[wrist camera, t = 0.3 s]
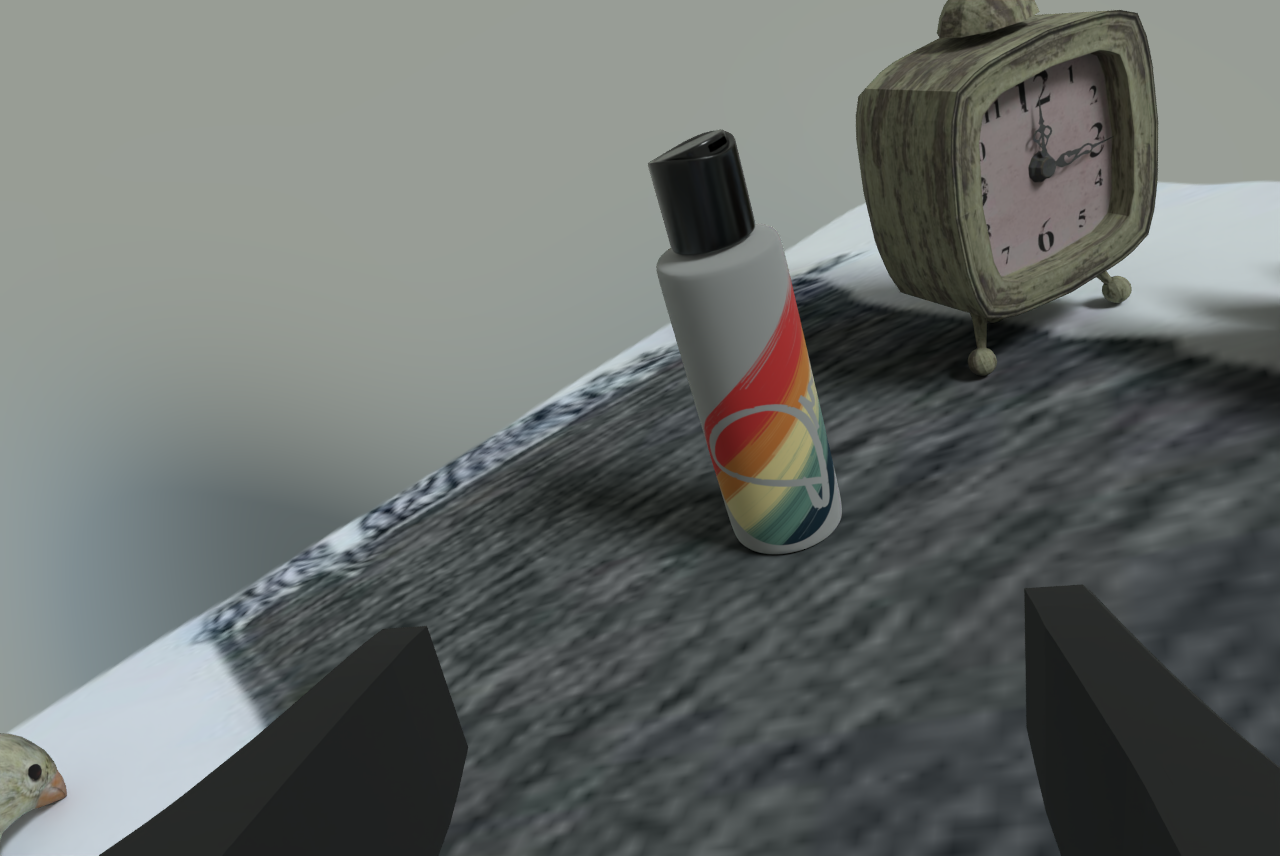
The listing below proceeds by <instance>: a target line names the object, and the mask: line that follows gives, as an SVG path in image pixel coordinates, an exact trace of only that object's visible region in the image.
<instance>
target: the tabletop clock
mask: <svg viewBox="0 0 1280 856" xmlns="http://www.w3.org/2000/svg"><path fill="white" fill-rule="evenodd" d="M1038 12H1039V10H1038V7H1037V5H1036V3H1035V1H1034V0H948V1H947V2H946V4H945V5H944V7H943V10H942V12H941V15H940V18H939V24H938V30H937V34H938V36H939V39H937V40H935V41H933V42H931V43H929V44H927V45H926V46H924V47H922V48H920V49H917V50H916V51H914V52H912V53H910V54H908V55H906V56H904V57H902V58H900V59H899V60H897V61H895V62H894V63H892V64H891V65H889V66H888V67H887V68H885V69H884V70H883V71H882V72H880V74H879V75H878V76H877V77H876V78H875V79H874V80H873V81H872V82H871V83H870V84H869V85H868V86H867V88H865V90H864V91H863V92H862V93H861V94H860V95H859V97H858V104H857V112H856V137H857V138H856V140H857V148H858V155H859V162H860V169H861V177H862V184H863V191H864V196H865V200H866V205H867V209H868V213H869V217H870V222H871V226H872V230H873V234H874V239H875V242H876V245H877V248H878V250H879V253H880V255H881V258H882V260H883V262H884V265H885V267H886V269H887V271H888V273H889V275H890V277H891V278H892V280H893V281H894V283H895V284H896V286H897V287H898V289H899V290H900V292H902V293H905V294H908V295H912V296H915V297H918V298H922V299H925V300H928V301H932V302H935V303H938V304H941V305H945V306H948V307H951V308H955V309H958V310H961V311H965V312H968V313H970V314H971V317H972V321H973V327H974V332H975V338H976V344H977V349H975V350H973V351H972V352H971V353H970V355H969V357H968V365H969V368H970V369H971V371H972V372H973V373H975V374H977V375H981V376H984V375H988V374H990V373H991V372H993V370H994V369H995V367H996V365H997V360H996V356H995V354H994V353H993V352H992V351H991V350H990V349H988V348H986V339H987V322H989V323H995V322H998V321H1000V320H1002V319H1003V318H1007V317H1012V316H1016V315H1019V314H1022V313H1024V312H1027V311H1030V310H1032V309H1034V308H1036V307H1039V306H1041V305H1043V304H1046V303H1048V302H1050V301H1053V300H1055V299H1057V298H1059V297H1062V296H1064V295H1066V294H1069V293H1071V292H1073V291H1074V290H1076V289H1078V288H1079V287H1081V286H1082V285H1084V284H1086V283H1087V282H1089V281H1090V280H1092V279H1094V278H1095V277H1097V278H1098V279H1100V280H1101V281H1102V282H1103V283H1104V284H1103V286H1102V293H1103V295H1104V297H1105V298H1106V299H1107V300H1108V301H1110V302H1113V303H1119V302H1122V301H1124V300H1126V299H1127V298H1128V297H1129V296H1130V294H1131V289H1132V288H1131V284H1130V283H1129V281H1128V280H1127V279H1125V278H1123V277H1121V276H1114V277H1110V275H1109V274H1108V273H1107V270H1108V269H1110V268H1111V267H1113V266H1114V265H1116V264H1117V263H1119V262H1120V261H1122V260H1123V259H1124V258H1126V257H1127V256H1128V255H1129V254H1130V253H1131V252H1133V251H1134V250H1135V249H1136V247H1137V246H1138V245H1139V244H1140V243H1141V242H1142V241H1143V240H1144V239H1145V237H1146V236H1147V235H1148V233H1149V229H1150V225H1151V221H1152V217H1153V213H1154V208H1155V199H1156V189H1157V172H1158V168H1157V167H1158V116H1157V107H1156V106H1157V105H1156V96H1155V85H1154V76H1153V66H1152V60H1151V55H1150V50H1149V45H1148V40H1147V36H1146V33H1145V31H1144V29H1143V26H1142V23H1141V21H1140V18H1139V16H1138V13H1133V12H1127V11H1122V10H1114V11H1097V12H1080V13H1062V14H1045V15H1035V14H1036V13H1038Z"/></svg>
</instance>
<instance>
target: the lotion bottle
mask: <svg viewBox="0 0 1280 856" xmlns="http://www.w3.org/2000/svg"><path fill="white" fill-rule="evenodd" d="M648 167H649V171H650V174H651V178H652V181H653V185H654V189H655V192H656V196H657V199H658V203H659V206H660V210H661V213H662V217H663V220H664V224H665V227H666V231H667V234H668V238H669V242H670V245H671V248H670V249H668V250H667V251H666V252H665V253H664V254H663V255H662V256H661V257H660V258H659V260H658V263H657V266H656V268H657V274H658V278H659V282H660V286H661V289H662V293H663V296H664V300H665V303H666V307H667V310H668V313H669V317H670V320H671V324H672V327H673V331H674V334H675V337H676V341H677V344H678V347H679V351H680V354H681V358H682V361H683V364H684V368H685V371H686V374H687V378H688V381H689V385H690V388H691V391H692V395H693V398H694V402H695V405H696V408H697V412H698V415H699V418H700V422H701V425H702V429H703V432H704V435H705V439H706V442H707V446H708V449H709V452H710V456H711V459H712V462H713V466H714V469H715V473H716V476H717V479H718V483H719V486H720V489H721V493H722V496H723V500H724V503H725V506H726V509H727V513H728V516H729V519H730V522H731V525H732V528H733V530H734V533H735V535H736V537H737V538H738V540H739V541H740V542H741V543H742V544H743V545H744V546H746V547H747V548H749V549H751V550H753V551H756V552H760V553H765V554H786V553H792V552H797V551H800V550H803V549H806V548H809V547H811V546H813V545H815V544H817V543H819V542H821V541H822V540H824V539H825V538H827V537H828V536H829V535H830V534H831V533H832V532H833V531H834V530H835V528H836V527H837V525H838V524H839V522H840V519H841V515H842V506H841V499H840V493H839V488H838V484H837V479H836V475H835V470H834V466H833V461H832V457H831V453H830V448H829V444H828V440H827V435H826V431H825V426H824V422H823V418H822V413H821V409H820V405H819V400H818V396H817V392H816V387H815V383H814V378H813V374H812V370H811V365H810V361H809V357H808V352H807V348H806V344H805V339H804V335H803V330H802V326H801V322H800V317H799V313H798V309H797V304H796V300H795V296H794V291H793V287H792V283H791V278H790V274H789V270H788V265H787V261H786V257H785V253H784V249H783V245H782V241H781V238H780V235H779V233H778V231H777V230H775V229H774V228H773V227H771V226H769V225H765V224H755V220H754V216H753V212H752V207H751V203H750V199H749V195H748V191H747V187H746V183H745V178H744V175H743V170H742V166H741V162H740V158H739V153H738V149H737V145H736V141H735V139H734V136H733V135H732V134H731V133H729V132H726V131H724V130H717V131H710V132H706V133H703V134H700V135H697V136H695V137H693V138H691V139H689V140H687V141H685V142H683V143H681V144H679V145H678V146H676V147H674V148H672V149H671V150H669V151H667V152H666V153H664V154H662V155H661V156H659V157H657V158H656V159H654V160H652V161H650V162H649V163H648Z"/></svg>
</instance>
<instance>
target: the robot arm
mask: <svg viewBox="0 0 1280 856" xmlns="http://www.w3.org/2000/svg"><path fill="white" fill-rule="evenodd" d="M1024 593H1025V656H1026V720H1027V731H1028V736H1029V740H1030V745H1031V749H1032V754H1033V758H1034V763H1035V767H1036V771H1037V776H1038V780H1039V784H1040V788H1041V793H1042V797H1043V801H1044V805H1045V810H1046V813H1047V816H1048V819H1049V822H1050V825H1051V828H1052V830H1053V833H1054V836H1055V839H1056V842H1057V845H1058V848H1059V850H1060V853H1061V856H1280V767H1279V766H1277V765H1276V764H1275V763H1274V762H1272V761H1271V760H1270V759H1269V758H1268V757H1266V756H1265V755H1264V754H1263V753H1261V752H1260V751H1259V750H1258V749H1257V748H1255V747H1254V746H1253V745H1252V744H1250V743H1249V742H1248V741H1247V740H1246V739H1245V738H1243V737H1242V736H1241V735H1240V734H1239V733H1238V732H1236V731H1235V730H1234V729H1233V728H1232V727H1231V726H1230V725H1228V724H1227V723H1226V722H1225V721H1224V720H1223V719H1221V718H1220V717H1219V716H1218V715H1217V714H1216V713H1215V712H1214V711H1213V710H1212V709H1210V708H1209V707H1208V706H1207V705H1206V704H1205V703H1204V702H1203V701H1202V700H1201V699H1199V698H1198V697H1197V696H1196V695H1195V694H1194V693H1193V692H1192V691H1191V690H1190V689H1188V688H1187V687H1186V686H1185V685H1184V684H1183V683H1182V682H1181V681H1180V680H1179V679H1178V678H1177V677H1175V676H1174V675H1173V674H1172V673H1171V672H1170V671H1169V670H1168V669H1167V668H1166V667H1165V666H1164V665H1163V664H1162V663H1161V662H1160V661H1159V660H1158V659H1157V658H1156V657H1155V656H1154V655H1153V654H1152V653H1151V652H1150V651H1149V650H1148V649H1147V648H1146V647H1145V646H1144V645H1143V644H1142V643H1141V642H1140V641H1139V640H1138V639H1137V638H1136V637H1135V636H1134V635H1133V634H1132V633H1131V632H1130V631H1129V630H1128V629H1127V628H1126V627H1125V626H1124V625H1123V624H1122V623H1121V622H1120V621H1119V620H1118V619H1117V618H1116V617H1115V616H1114V615H1113V614H1112V613H1111V612H1110V611H1109V610H1108V609H1107V607H1106V606H1105V605H1104V604H1103V603H1102V602H1101V601H1100V600H1099V599H1098V598H1097V597H1096V596H1095V595H1094V594H1093V593H1092V592H1091V591H1090V590H1088V589H1087V588H1086V587H1085V586H1083V585H1071V586H1055V587H1039V588H1024ZM467 750H468V745H467V743H466V740H465V737H464V734H463V731H462V728H461V725H460V722H459V719H458V716H457V713H456V710H455V707H454V704H453V701H452V698H451V696H450V693H449V690H448V687H447V684H446V681H445V678H444V675H443V672H442V669H441V666H440V663H439V660H438V657H437V654H436V651H435V649H434V646H433V643H432V640H431V637H430V634H429V631H428V628H427V626H422V627H406V628H390V629H382V630H381V631H380V632H378V633H377V634H376V635H374V636H373V637H372V638H370V639H369V640H368V641H367V642H365V643H364V644H363V645H362V646H360V647H359V648H358V649H357V650H356V651H354V652H353V653H352V654H351V655H350V656H349V657H347V658H346V659H345V660H344V661H343V662H342V663H340V664H339V665H338V666H337V667H336V668H335V669H333V670H332V671H331V672H330V673H329V674H328V675H327V676H325V677H324V678H323V679H322V680H321V681H320V682H318V683H317V684H316V685H315V686H314V687H313V688H312V689H310V690H309V691H308V692H307V693H306V694H305V695H304V696H302V697H301V698H300V699H299V700H298V701H297V702H295V703H294V704H293V705H292V706H291V707H290V708H289V709H287V710H286V711H285V712H284V713H283V714H282V715H280V716H279V717H278V718H277V719H276V720H275V721H273V722H272V723H271V724H270V725H269V726H268V727H267V728H265V729H264V730H263V731H262V732H261V733H260V734H258V735H257V736H256V737H255V738H254V739H252V740H251V741H250V742H249V743H248V744H246V745H245V746H244V747H243V748H241V749H240V750H239V751H238V752H236V753H235V754H234V755H233V756H231V757H230V758H229V759H228V760H226V761H225V762H224V763H223V764H221V765H220V766H219V767H218V768H216V769H215V770H214V771H213V772H211V773H210V774H209V775H208V776H206V777H205V778H204V779H203V780H201V781H200V782H199V783H198V784H197V785H195V786H194V787H193V788H192V789H190V790H189V791H188V792H187V793H185V794H184V795H183V796H181V797H180V798H179V799H178V800H176V801H175V802H174V803H172V804H171V805H170V806H168V807H167V808H166V809H164V810H163V811H161V812H160V813H159V814H157V815H156V816H155V817H153V818H152V819H150V820H149V821H148V822H146V823H145V824H144V825H142V826H141V827H139V828H138V829H137V830H135V831H134V832H132V833H131V834H129V835H128V836H126V837H125V838H123V839H122V840H121V841H119V842H118V843H116V844H115V845H113V846H112V847H110V848H109V849H108V850H106V851H105V852H103V853H102V854H100V855H99V856H438V855H439V852H440V850H441V847H442V844H443V842H444V839H445V836H446V833H447V830H448V828H449V825H450V822H451V818H452V814H453V810H454V806H455V802H456V798H457V795H458V791H459V786H460V782H461V777H462V773H463V768H464V764H465V759H466V755H467Z"/></svg>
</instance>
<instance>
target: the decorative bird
mask: <svg viewBox="0 0 1280 856" xmlns="http://www.w3.org/2000/svg"><path fill="white" fill-rule="evenodd" d="M66 796H67V792H66V785H65V783H64V780H63V778H62V776H61V774H60V773H59V772H58V770H57V767H56V765H55V763H54V761H53V760H52V758H51V757H50V756H49V755H48V754H47V753H46V751H45V750H43V749H42V748H40V747H39V746H37V745H36V744H34V743H32V742H31V741H29V740H27V739H25V738H23V737H20V736H16V735H12V734H4V733H0V840H1V837H2V834H3V832H4V831H5V830H6V829H7V828H8V827H9V826H10V825H11V824H12V823H14V822H15V821H16V820H17V819H18V818H19V817H21V816H22V815H23V814H25V813H27V812H29V811H31V810H33V809H35V808H39V807H42V806H44V805H47V804H51V803H53V802H55V801H58V800H61V799H63V798H65V797H66Z"/></svg>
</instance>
